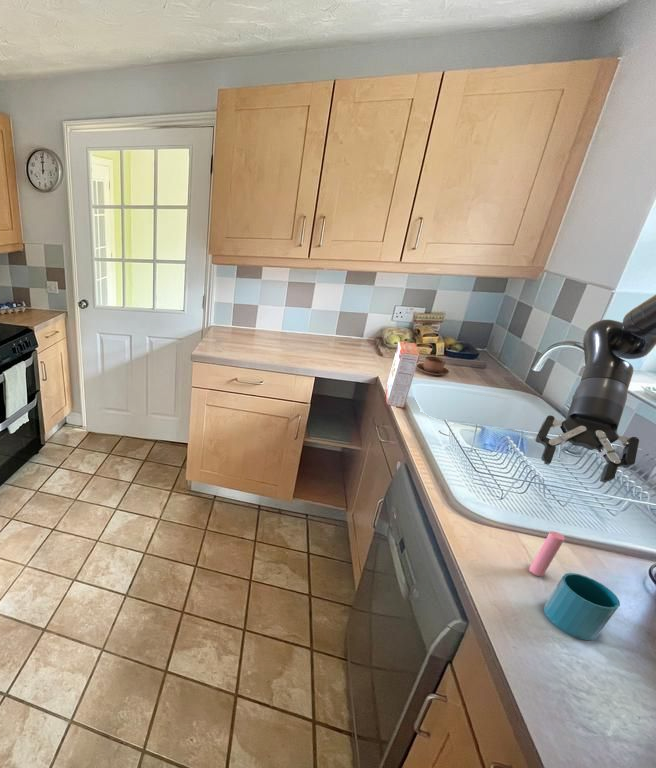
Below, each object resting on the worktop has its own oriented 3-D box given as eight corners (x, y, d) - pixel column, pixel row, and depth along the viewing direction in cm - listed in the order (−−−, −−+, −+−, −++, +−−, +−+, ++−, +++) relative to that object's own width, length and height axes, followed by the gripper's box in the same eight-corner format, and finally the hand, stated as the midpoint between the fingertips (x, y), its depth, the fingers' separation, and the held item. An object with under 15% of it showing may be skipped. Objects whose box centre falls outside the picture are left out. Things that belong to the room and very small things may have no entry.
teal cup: (587, 613, 76) (608, 582, 73) (604, 647, 70) (628, 615, 67) (538, 597, 79) (556, 567, 76) (551, 629, 73) (571, 597, 70)
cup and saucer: (419, 365, 189) (423, 352, 187) (450, 372, 182) (455, 359, 179) (412, 372, 182) (416, 358, 179) (443, 380, 174) (448, 366, 171)
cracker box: (383, 390, 163) (398, 340, 155) (401, 393, 161) (417, 343, 152) (385, 405, 152) (401, 351, 143) (404, 408, 150) (421, 354, 141)
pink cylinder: (541, 570, 85) (562, 533, 81) (544, 578, 83) (566, 541, 79) (527, 566, 86) (548, 529, 82) (530, 574, 84) (552, 537, 80)
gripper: (557, 386, 89) (534, 453, 86) (656, 408, 80) (633, 483, 77) (547, 400, 95) (525, 463, 92) (637, 422, 86) (616, 491, 83)
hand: (574, 472), depth 85 cm, fingers open, 8 cm apart
